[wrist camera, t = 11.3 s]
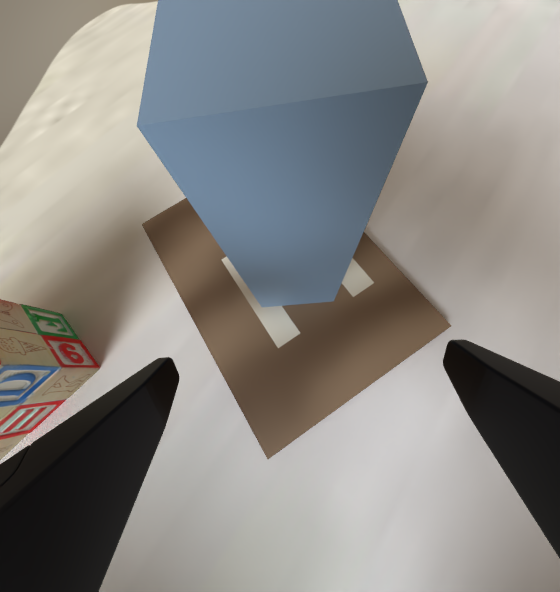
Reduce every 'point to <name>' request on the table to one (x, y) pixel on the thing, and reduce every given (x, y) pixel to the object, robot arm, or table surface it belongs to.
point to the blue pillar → (281, 128)
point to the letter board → (293, 329)
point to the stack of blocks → (36, 368)
